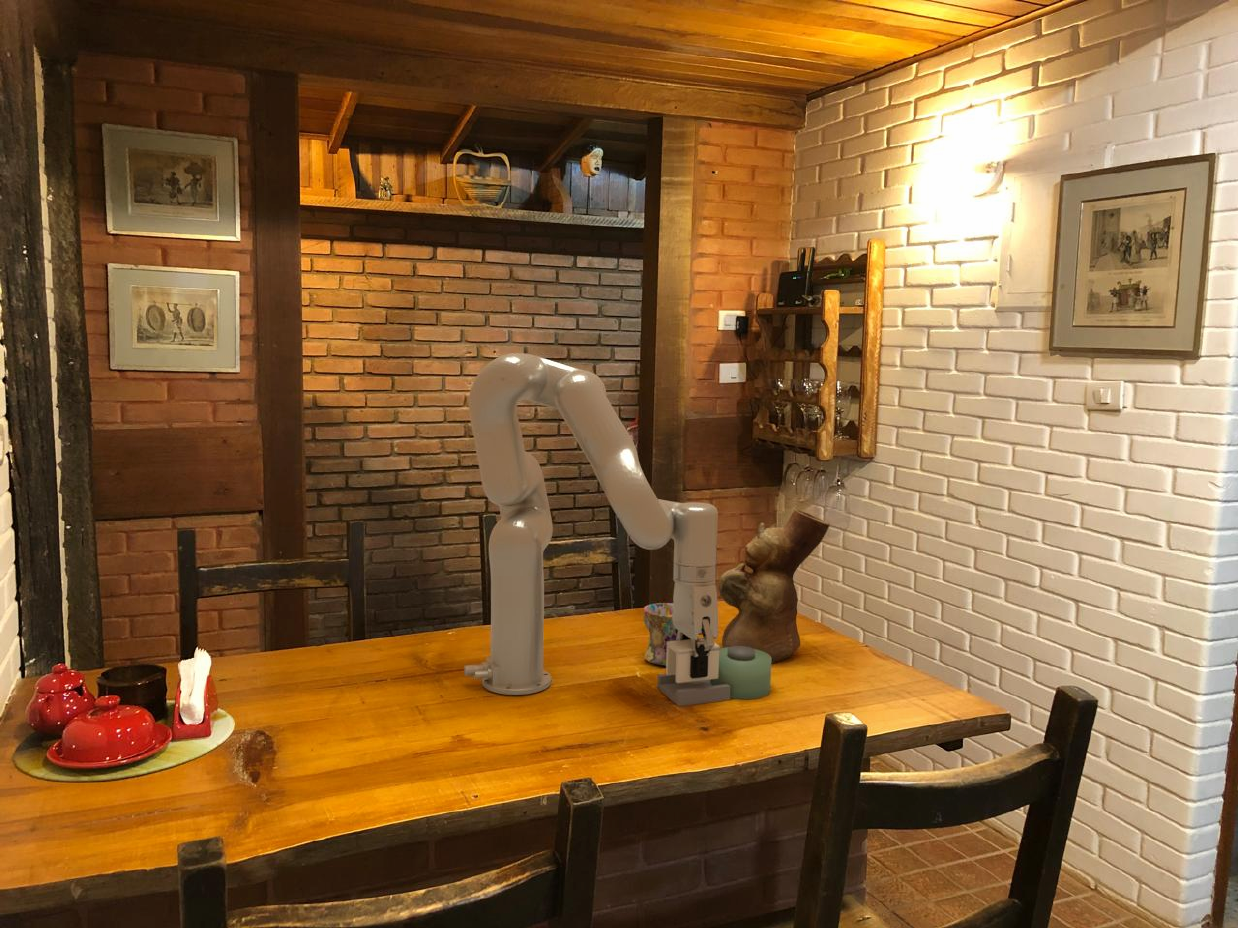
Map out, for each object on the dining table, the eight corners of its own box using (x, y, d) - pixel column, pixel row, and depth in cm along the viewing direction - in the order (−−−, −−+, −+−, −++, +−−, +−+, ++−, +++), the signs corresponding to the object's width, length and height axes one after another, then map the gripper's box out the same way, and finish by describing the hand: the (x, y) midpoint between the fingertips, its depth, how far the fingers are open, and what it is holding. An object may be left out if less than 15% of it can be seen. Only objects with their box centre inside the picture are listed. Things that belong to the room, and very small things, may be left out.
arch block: (705, 669, 168) (706, 637, 167) (718, 678, 164) (719, 645, 163) (665, 673, 165) (666, 641, 165) (677, 683, 161) (678, 649, 160)
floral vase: (698, 663, 181) (700, 611, 180) (661, 672, 176) (663, 618, 175) (661, 647, 191) (662, 597, 190) (625, 654, 186) (626, 603, 184)
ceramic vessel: (714, 639, 197) (719, 501, 193) (816, 643, 196) (823, 505, 193) (719, 664, 181) (725, 514, 178) (830, 668, 180) (838, 518, 177)
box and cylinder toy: (680, 707, 158) (681, 667, 157) (655, 685, 168) (656, 647, 168) (781, 695, 165) (783, 656, 164) (751, 674, 175) (753, 638, 175)
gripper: (736, 582, 156) (732, 685, 158) (693, 560, 171) (690, 655, 174) (696, 585, 153) (693, 690, 155) (656, 563, 169) (654, 659, 171)
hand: (691, 670), depth 164 cm, fingers closed on arch block, 5 cm apart
